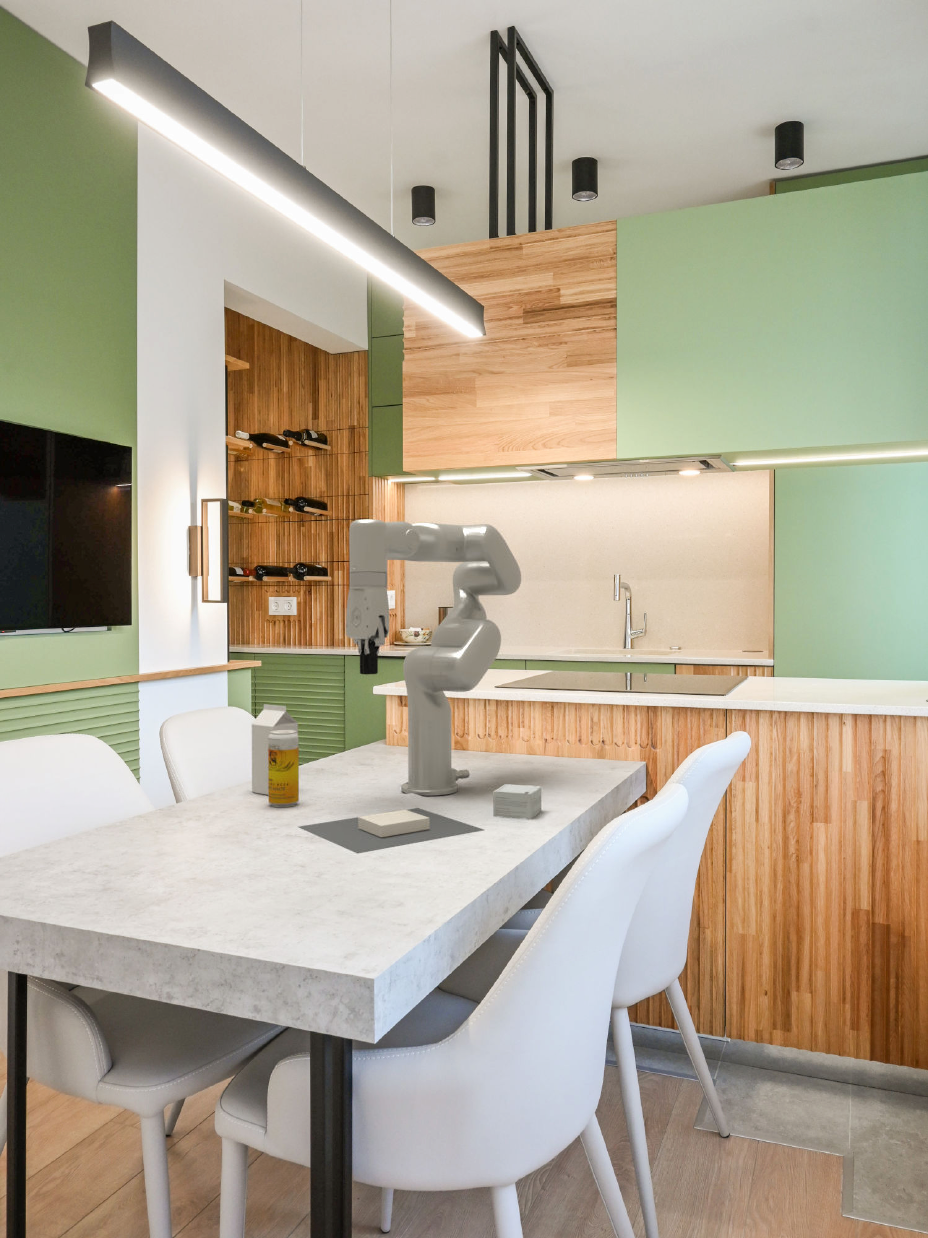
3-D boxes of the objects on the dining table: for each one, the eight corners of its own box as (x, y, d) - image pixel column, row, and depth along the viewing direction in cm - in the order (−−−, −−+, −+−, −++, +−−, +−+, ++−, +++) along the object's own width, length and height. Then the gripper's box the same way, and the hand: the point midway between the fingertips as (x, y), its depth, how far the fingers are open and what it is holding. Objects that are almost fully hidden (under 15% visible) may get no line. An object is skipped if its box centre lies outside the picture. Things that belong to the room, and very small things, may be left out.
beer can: (262, 806, 185) (261, 732, 185) (281, 800, 190) (281, 729, 190) (285, 809, 182) (285, 734, 182) (304, 803, 188) (304, 730, 187)
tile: (405, 809, 169) (429, 817, 163) (405, 821, 169) (429, 829, 163) (358, 817, 163) (381, 825, 157) (358, 829, 163) (381, 838, 157)
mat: (417, 810, 181) (417, 807, 181) (485, 833, 163) (485, 829, 163) (297, 830, 165) (297, 826, 165) (357, 857, 147) (357, 853, 147)
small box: (504, 808, 183) (504, 783, 183) (542, 811, 181) (542, 785, 180) (492, 817, 176) (492, 790, 176) (531, 820, 173) (531, 793, 173)
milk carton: (273, 796, 194) (273, 707, 194) (251, 792, 198) (251, 705, 198) (298, 791, 200) (298, 704, 200) (276, 787, 204) (276, 702, 204)
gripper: (334, 582, 185) (334, 672, 186) (371, 580, 173) (371, 677, 173) (366, 583, 190) (366, 671, 190) (404, 581, 178) (404, 675, 178)
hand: (368, 673), depth 182 cm, fingers closed
